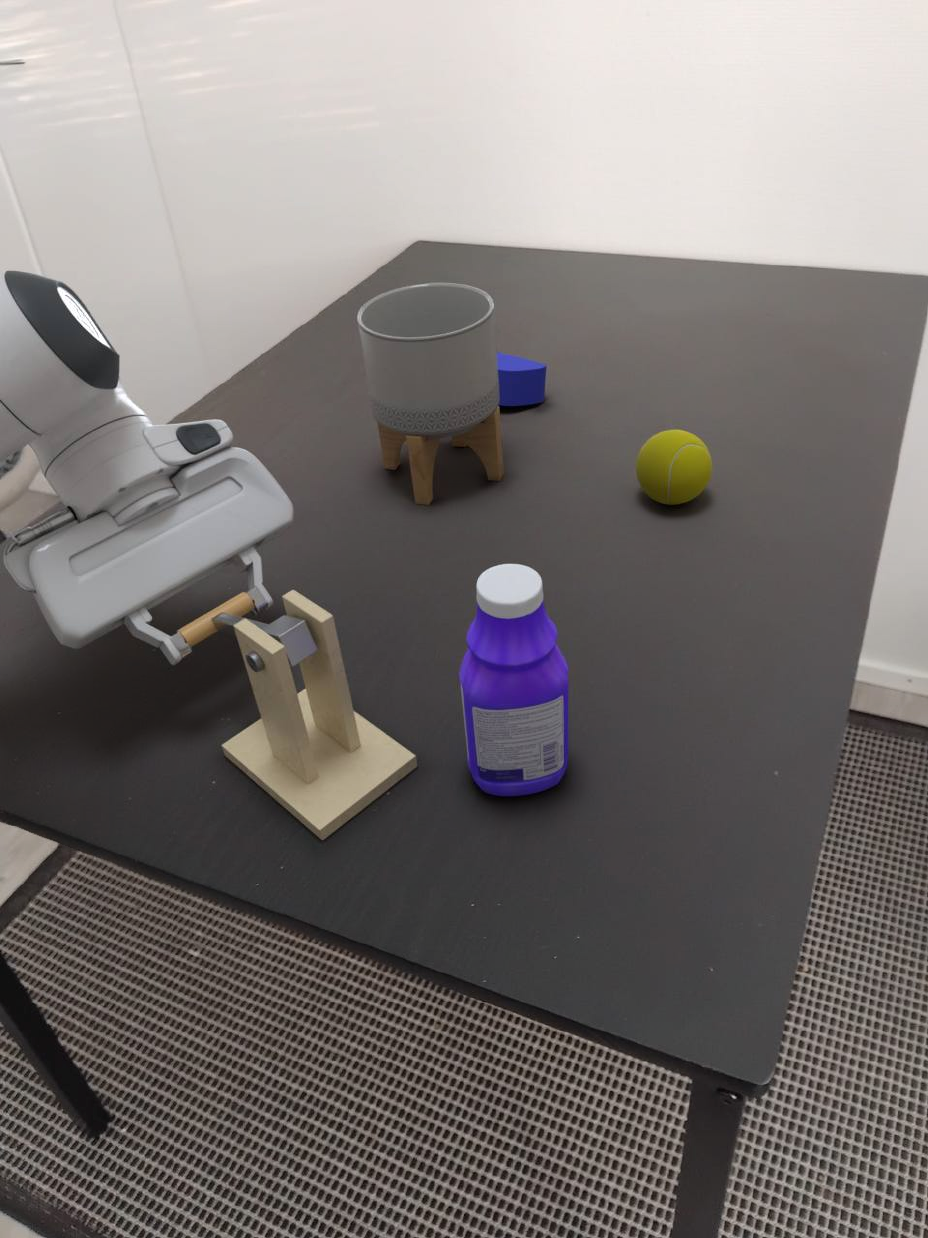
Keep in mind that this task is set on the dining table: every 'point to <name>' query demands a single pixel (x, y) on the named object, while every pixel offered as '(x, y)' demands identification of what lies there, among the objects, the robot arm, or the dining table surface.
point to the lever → (283, 629)
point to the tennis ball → (673, 467)
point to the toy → (520, 380)
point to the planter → (433, 376)
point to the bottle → (514, 687)
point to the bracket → (311, 729)
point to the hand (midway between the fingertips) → (225, 633)
